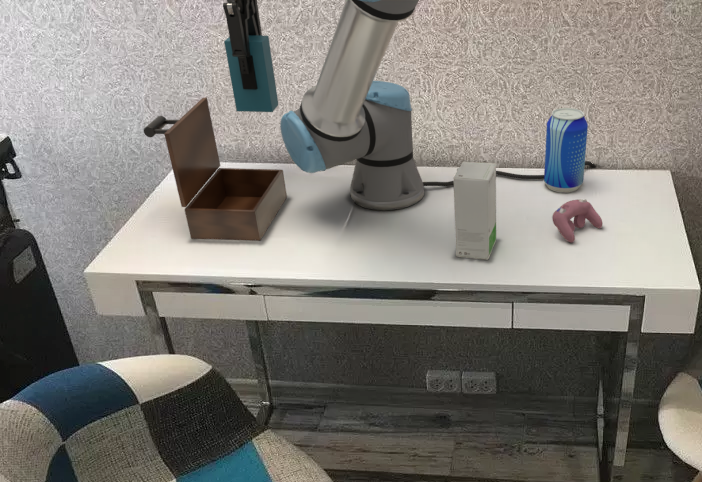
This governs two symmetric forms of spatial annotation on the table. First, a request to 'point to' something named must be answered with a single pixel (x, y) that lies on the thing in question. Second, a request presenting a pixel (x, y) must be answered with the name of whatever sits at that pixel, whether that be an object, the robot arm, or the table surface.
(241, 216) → the chest
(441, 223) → the table surface
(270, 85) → the block
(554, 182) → the beer can
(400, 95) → the robot arm
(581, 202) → the video game controller
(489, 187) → the cosmetic box
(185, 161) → the lid
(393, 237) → the table surface
